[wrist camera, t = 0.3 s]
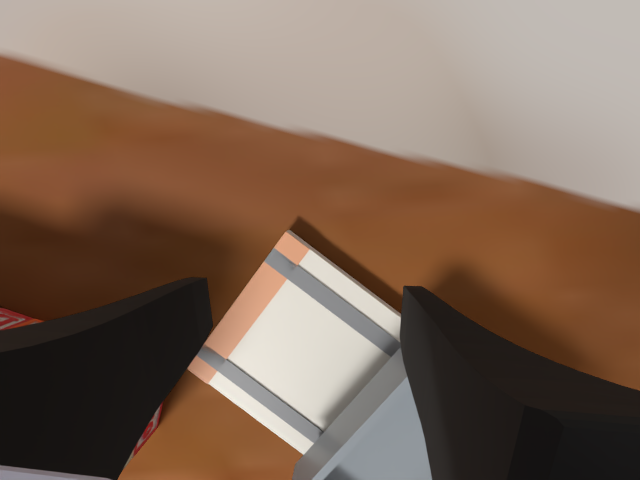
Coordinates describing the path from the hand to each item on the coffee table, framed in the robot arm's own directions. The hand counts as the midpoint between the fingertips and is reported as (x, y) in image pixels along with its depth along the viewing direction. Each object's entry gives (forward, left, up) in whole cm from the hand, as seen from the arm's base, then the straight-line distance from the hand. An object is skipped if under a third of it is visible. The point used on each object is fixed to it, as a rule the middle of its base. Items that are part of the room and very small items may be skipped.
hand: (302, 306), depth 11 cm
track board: (-7, -8, -10) cm, 15 cm away
